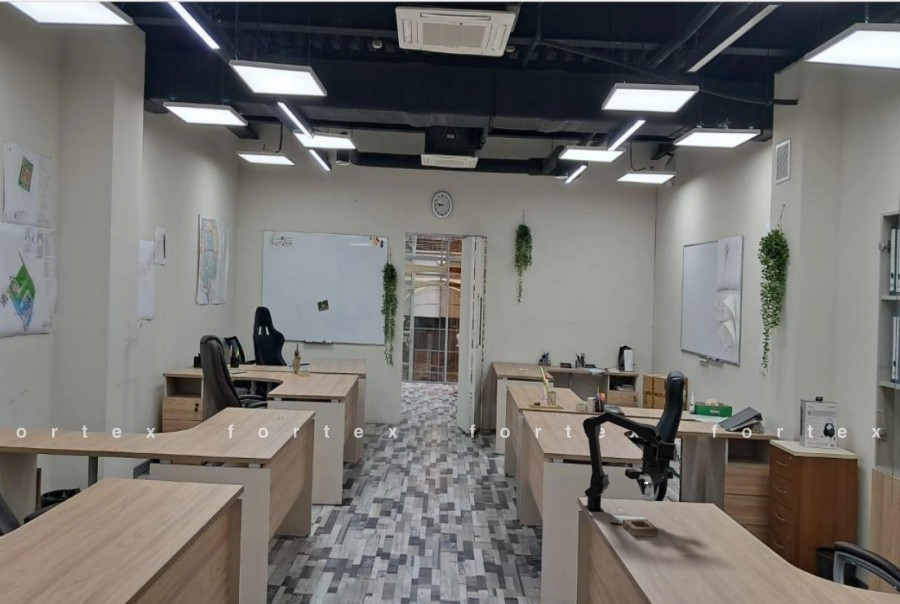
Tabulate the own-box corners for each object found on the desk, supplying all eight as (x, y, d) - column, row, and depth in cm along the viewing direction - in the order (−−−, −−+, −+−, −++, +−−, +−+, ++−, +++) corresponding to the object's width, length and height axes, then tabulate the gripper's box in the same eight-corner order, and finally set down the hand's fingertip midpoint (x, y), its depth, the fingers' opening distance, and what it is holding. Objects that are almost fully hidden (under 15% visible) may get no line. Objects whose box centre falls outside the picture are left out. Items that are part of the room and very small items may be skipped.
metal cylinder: (640, 497, 261) (641, 481, 261) (650, 497, 261) (651, 480, 261) (645, 501, 256) (646, 484, 256) (655, 501, 257) (656, 484, 257)
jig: (622, 527, 252) (622, 519, 251) (646, 526, 253) (646, 519, 253) (633, 536, 242) (633, 529, 242) (657, 536, 243) (658, 528, 243)
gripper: (636, 462, 249) (635, 501, 250) (680, 462, 252) (679, 500, 252) (625, 454, 260) (623, 492, 261) (667, 454, 263) (666, 491, 263)
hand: (648, 494), depth 259 cm, fingers closed on metal cylinder, 4 cm apart
